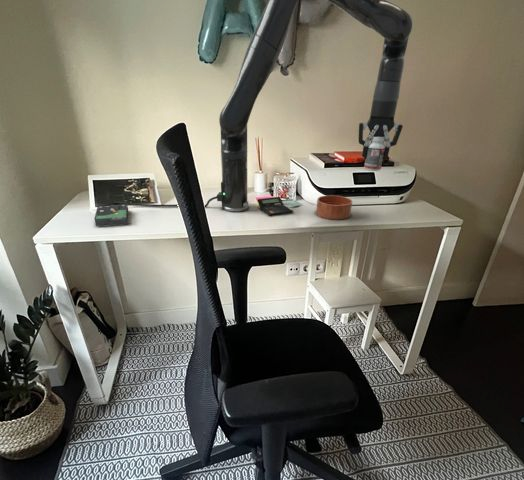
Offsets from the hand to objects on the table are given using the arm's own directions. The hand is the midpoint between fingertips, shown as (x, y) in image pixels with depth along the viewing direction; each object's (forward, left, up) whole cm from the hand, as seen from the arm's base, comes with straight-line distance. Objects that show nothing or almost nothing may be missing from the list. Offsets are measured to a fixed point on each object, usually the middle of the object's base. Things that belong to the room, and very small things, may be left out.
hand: (374, 158), depth 124 cm
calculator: (-33, 0, -19) cm, 38 cm away
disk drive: (-87, -22, -19) cm, 92 cm away
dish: (-11, 0, -19) cm, 22 cm away
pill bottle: (0, 0, -3) cm, 3 cm away
